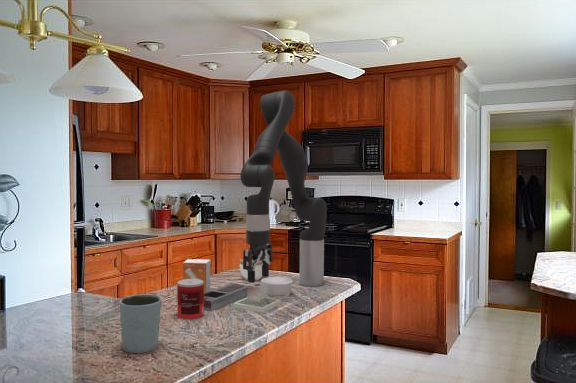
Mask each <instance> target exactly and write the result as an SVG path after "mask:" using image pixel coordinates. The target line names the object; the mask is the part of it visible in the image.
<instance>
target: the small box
mask: <svg viewBox="0 0 576 383" xmlns="http://www.w3.org/2000/svg"><path fill="white" fill-rule="evenodd" d="M211 262H212V261H211V259H199V258H197V259H194V258H193V259H190V258H188V259H186V260H185V261H184V262H182V280H184V279H200V280H203V282H204V293H206V292H208V291H211Z"/></svg>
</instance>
